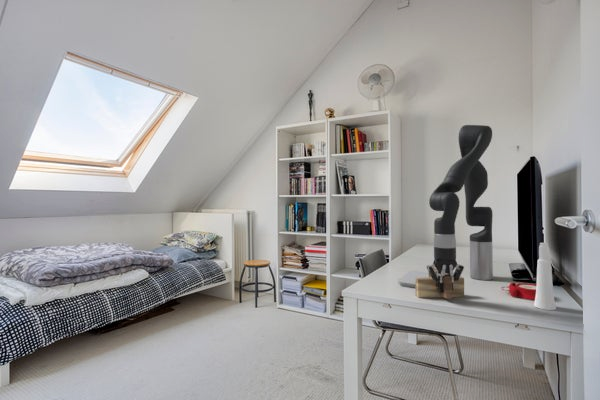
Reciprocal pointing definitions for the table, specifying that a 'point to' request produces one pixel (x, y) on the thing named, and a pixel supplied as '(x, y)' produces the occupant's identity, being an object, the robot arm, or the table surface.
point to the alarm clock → (522, 290)
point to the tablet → (412, 278)
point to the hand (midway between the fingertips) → (445, 291)
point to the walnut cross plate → (445, 285)
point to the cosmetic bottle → (544, 280)
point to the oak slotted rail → (429, 289)
